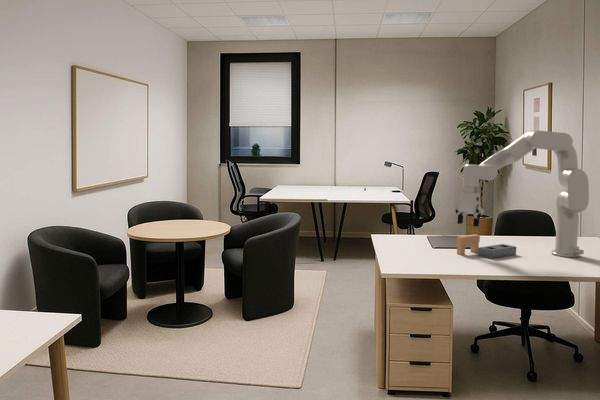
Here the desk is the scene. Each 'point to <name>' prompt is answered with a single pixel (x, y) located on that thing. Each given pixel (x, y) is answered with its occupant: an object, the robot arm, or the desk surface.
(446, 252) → the desk surface
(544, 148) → the robot arm
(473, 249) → the tan block
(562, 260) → the desk surface
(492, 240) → the desk surface
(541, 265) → the desk surface
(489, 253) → the dark gray slotted block
